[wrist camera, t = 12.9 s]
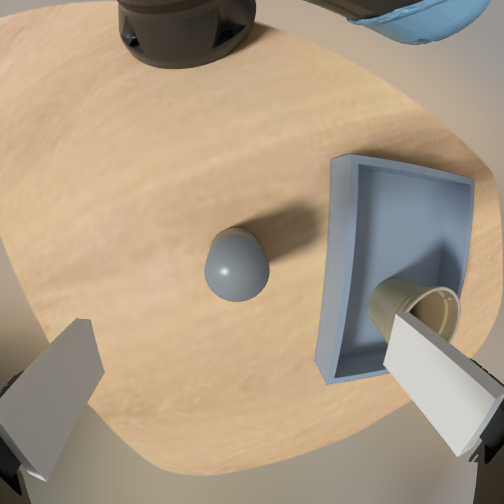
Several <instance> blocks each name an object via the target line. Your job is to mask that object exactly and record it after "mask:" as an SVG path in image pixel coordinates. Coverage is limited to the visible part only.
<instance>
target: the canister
mask: <svg viewBox="0 0 504 504" xmlns="http://www.w3.org/2000/svg"><path fill="white" fill-rule="evenodd" d="M269 272H270V271H269V263H268V260H267V258H266V255H265V254H264V252H263V250H262V248H261V247H260V245H259V243H258V241H257V239H256V238H255V237H254V235H253V234H252V233H250V232H249V231H247V230H245V229H243V228H239V227H232V228H227V229H225V230H223V231H221V232H220V233H219V234H217V236H216V237H215V238H214V240H213V242H212V244H211V247H210V251H209V254H208V257H207V260H206V264H205V278H206V281H207V284H208V286H209V287H210V289H211V290H212V291H213V292H214V293H215V294H216V295H217V296H219V297H220V298H222V299H225V300H228V301H232V302H241V301H246V300H249V299H251V298H253V297H255V296H256V295H258V294H259V293H260V292H261V291H262V290H263V288H264V287H265V285H266V284H267V281H268V278H269Z"/></svg>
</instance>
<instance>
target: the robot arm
mask: <svg viewBox="0 0 504 504" xmlns="http://www.w3.org/2000/svg"><path fill="white" fill-rule="evenodd" d="M117 1H118V8H119V32H120V36H121V39H122V41H123V43H124V44H125V46H126V47H127V49H128V50H129V51H130V53H131V54H132V55H133V56H134V57H135V58H137V59H138V60H139V61H141V62H143V63H145V64H147V65H150V66H154V67H158V68H164V69H183V68H191V67H196V66H200V65H204V64H207V63H210V62H213V61H215V60H217V59H219V58H222V57H223V56H225V55H227V54H229V53H230V52H232V51H233V50H234V49H236V48H237V47H238V46H239V45H240V44H241V43H242V42H243V41H244V40H245V39H246V38H247V37H248V35H249V33H250V32H251V30H252V27H253V24H254V20H255V14H256V2H255V0H117ZM304 1H307V2H310V3H312V4H315V5H318V6H320V7H323V8H326V9H328V10H330V11H333V12H335V13H338V14H340V15H342V16H344V17H346V18H347V20H348V21H349V22H351V23H353V24H356V25H363V26H365V27H368V28H370V29H372V30H374V31H376V32H378V33H380V34H382V35H384V36H386V37H388V38H390V39H392V40H394V41H397V42H400V43H404V44H411V45H419V44H427V43H429V42H432V41H439V40H442V39H445V38H447V37H449V36H451V35H453V34H455V33H457V32H459V31H461V30H462V29H464V28H465V27H467V26H468V25H469V24H471V23H472V22H473V21H474V20H476V19H477V18H478V17H479V16H480V15H481V14H482V13H483V12H484V10H485V9H486V8H487V6H488V5H489V3H490V1H491V0H304ZM383 365H384V366H385V367H386V368H387V369H388V371H389V372H390V373H391V374H392V375H393V377H394V378H395V379H396V380H397V382H398V383H399V384H400V385H401V386H402V388H403V389H404V390H405V391H406V392H407V394H408V395H409V396H410V397H411V399H412V400H413V401H414V402H415V403H416V405H417V406H418V407H419V408H420V410H421V411H422V412H423V413H424V415H425V416H426V417H427V418H428V420H429V421H430V422H431V423H432V425H433V426H434V427H435V428H436V430H437V431H438V432H439V434H440V435H441V436H442V437H443V439H444V440H445V441H446V442H447V444H448V445H449V446H450V448H451V449H452V450H453V452H454V453H455V454H456V456H460V455H461V454H463V453H465V452H466V451H468V450H470V449H471V448H472V447H473V445H474V444H475V442H476V441H477V439H478V438H479V437H480V438H481V439H482V442H481V444H480V445H479V446H478V448H477V449H476V450H475V452H474V453H473V454H472V456H471V457H470V459H469V462H471V461H472V460H473V459H474V457H475V456H476V455H477V454H478V457H477V458H476V459H475V461H474V462H478V470H477V479H476V488H475V495H474V501H473V504H504V385H503V384H502V383H501V382H500V381H499V380H498V379H496V378H495V377H494V376H493V375H492V374H489V373H488V371H487V370H485V369H484V368H483V369H482V366H481V365H479V364H478V363H477V362H476V361H474V360H472V359H470V358H468V357H466V356H465V355H464V354H463V353H461V352H460V351H459V350H458V349H456V348H455V347H454V346H453V345H451V344H450V343H449V342H447V341H446V340H445V339H444V338H442V337H441V336H440V335H438V334H437V333H436V332H434V331H433V330H432V329H431V328H429V327H428V326H427V325H425V324H424V323H423V322H421V321H420V320H419V319H417V318H416V317H415V316H413V315H412V314H411V313H409V312H405V313H398V314H396V315H395V319H394V324H393V328H392V332H391V337H390V341H389V345H388V348H387V352H386V356H385V360H384V363H383ZM104 373H105V372H104V369H103V365H102V362H101V359H100V355H99V351H98V348H97V344H96V340H95V336H94V332H93V328H92V323H91V320H88V319H78V318H76V319H75V320H74V321H73V322H72V323H71V324H70V325H69V326H68V327H67V328H66V329H65V330H64V331H63V332H62V333H61V334H60V335H59V336H58V337H57V338H56V339H55V340H54V341H53V342H52V343H51V344H50V345H49V346H48V347H47V348H46V349H45V350H44V351H43V352H42V353H41V354H40V355H39V356H38V357H37V358H36V359H35V360H34V361H33V362H32V364H31V365H30V366H29V367H28V368H27V369H26V370H25V371H22V372H20V373H19V374H17V375H15V376H14V377H13V378H12V379H11V380H10V381H9V382H8V383H7V384H6V387H4V388H3V389H2V390H1V393H0V504H31V501H30V499H29V495H28V493H27V489H26V486H25V482H24V479H23V475H22V473H21V471H20V470H19V469H18V468H19V467H20V465H21V464H22V465H23V466H24V468H25V469H26V470H27V471H28V472H29V473H30V474H32V475H33V476H35V477H37V478H40V479H42V480H44V481H46V482H47V481H48V479H49V476H50V474H51V472H52V470H53V468H54V466H55V464H56V462H57V459H58V457H59V455H60V453H61V451H62V449H63V447H64V445H65V443H66V441H67V439H68V437H69V435H70V434H71V431H72V430H73V428H74V426H75V424H76V422H77V420H78V419H79V416H80V415H81V413H82V411H83V409H84V408H85V406H86V404H87V402H88V400H89V399H90V397H91V395H92V393H93V392H94V390H95V388H96V386H97V385H98V383H99V381H100V380H101V378H102V376H103V374H104Z"/></svg>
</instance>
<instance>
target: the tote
mask: <svg viewBox="0 0 504 504" xmlns="http://www.w3.org/2000/svg"><path fill="white" fill-rule="evenodd" d="M473 206H474V179H471V178H468V177H464V176H461V175H457V174H453V173H449V172H445V171H441V170H437V169H432V168H428V167H423V166H419V165H414V164H409V163H404V162H398V161H393V160H387V159H381V158H375V157H368V156H361V155H354V154H349V155H345V156H341V157H337V158H333V159H331V168H330V205H329V226H328V242H327V256H326V268H325V279H324V289H323V299H322V308H321V316H320V324H319V332H318V339H317V346H316V353H315V360H314V361H315V363H316V365H317V367H318V369H319V371H320V373H321V375H322V377H323V379H324V381H325V383H326V385H328V384H335V383H342V382H348V381H354V380H359V379H365V378H370V377H375V376H379V375H384V374H388V373H390V372H389V371H388V369H387V368H386V367H385V366H384V365H383V363H384V360H385V356H386V352H387V348H388V344H387V342H386V341H385V339H384V338H383V336H382V335H381V333H380V332H379V330H378V329H377V327H376V326H375V324H374V323H373V322H372V320H371V319H370V317H369V313H368V307H369V303H370V298H371V295H372V293H373V292H374V290H375V289H376V288H377V287H378V286H379V285H380V284H381V283H382V282H384V281H386V280H388V279H393V278H397V279H401V280H404V281H407V282H411V283H414V284H417V285H421V286H424V287H438V286H443V287H448V288H450V289H452V290H453V291H454V292H455V293H456V295H457V297H458V298H459V300H460V296H461V292H462V287H463V282H464V277H465V272H466V266H467V260H468V254H469V247H470V239H471V230H472V220H473Z"/></svg>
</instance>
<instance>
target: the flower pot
mask: <svg viewBox="0 0 504 504" xmlns="http://www.w3.org/2000/svg"><path fill="white" fill-rule="evenodd" d="M405 312H409V313H411V314H412V315H413V316H415V317H416V318H417V319H419V320H420V321H421V322H423V323H424V324H425V325H427V326H428V327H429V328H431V329H432V330H433V331H434V332H436V333H437V334H438V335H440V336H441V337H442V338H444V339H445V340H446V341H447V342H449V343H451V341H452V339H453V337H454V335H455V333H456V330H457V328H458V324H459V320H460V314H461V308H460V302H459V298H458V297H457V295H456V293H455V292H454V291H453V290H452V289H450V288H448V287H443V286H438V287H424V286H421V285H417V284H414V283H411V282H407V281H404V280H401V279H397V278H393V279H388V280H386V281H384V282H382V283H381V284H380V285H379V286H378V287H377V288H376V289H375V290H374V292H373V293H372V295H371V298H370V303H369V307H368V313H369V317H370V319H371V320H372V322H373V323H374V324H375V326H376V327H377V329H378V330H379V332H380V333H381V335H382V336H383V338H384V339H385V341H386V342H387V344H388V345H389V341H390V337H391V332H392V328H393V324H394V319H395V315H396V314H398V313H405Z"/></svg>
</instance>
